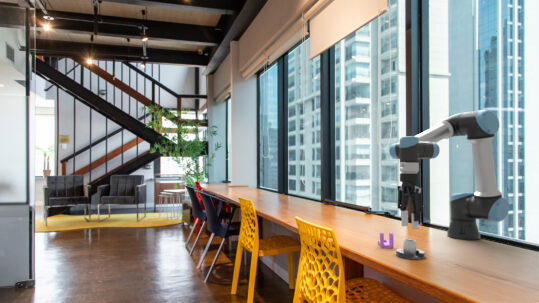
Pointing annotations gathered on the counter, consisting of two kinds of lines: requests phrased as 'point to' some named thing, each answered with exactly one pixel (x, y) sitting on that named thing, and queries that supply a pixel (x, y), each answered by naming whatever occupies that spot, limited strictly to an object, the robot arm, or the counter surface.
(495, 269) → the counter surface
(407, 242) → the grey cylinder
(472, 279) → the counter surface
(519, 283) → the counter surface
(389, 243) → the bracket
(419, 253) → the barrel ring
